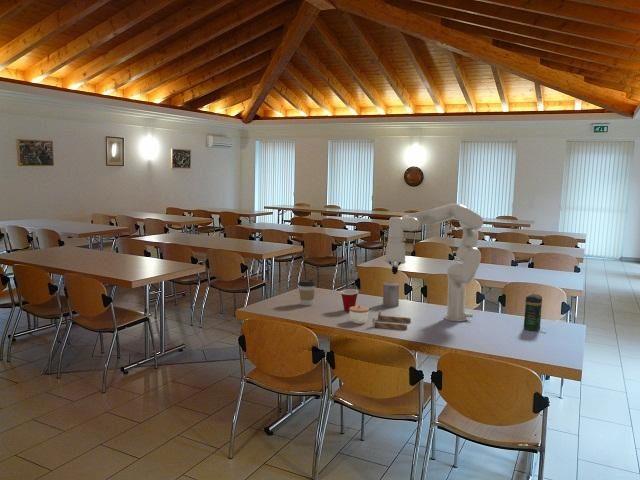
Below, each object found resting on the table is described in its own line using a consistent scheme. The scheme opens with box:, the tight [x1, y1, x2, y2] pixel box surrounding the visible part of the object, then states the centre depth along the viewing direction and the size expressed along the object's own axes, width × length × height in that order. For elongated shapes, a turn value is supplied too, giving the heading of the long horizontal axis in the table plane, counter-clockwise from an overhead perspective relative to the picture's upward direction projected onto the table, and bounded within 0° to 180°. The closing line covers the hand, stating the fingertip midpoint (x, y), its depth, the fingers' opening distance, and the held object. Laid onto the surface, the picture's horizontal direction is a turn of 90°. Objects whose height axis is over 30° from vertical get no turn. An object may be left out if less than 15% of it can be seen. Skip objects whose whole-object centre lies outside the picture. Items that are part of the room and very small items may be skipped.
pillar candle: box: [382, 281, 400, 308], centre depth 342 cm, size 10×10×15 cm
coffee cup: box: [297, 278, 317, 306], centre depth 341 cm, size 11×11×15 cm
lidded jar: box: [349, 304, 370, 325], centre depth 303 cm, size 11×11×9 cm
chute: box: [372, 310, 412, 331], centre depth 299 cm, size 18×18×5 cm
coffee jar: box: [523, 293, 543, 332], centre depth 294 cm, size 10×8×19 cm
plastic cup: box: [339, 288, 359, 313], centre depth 327 cm, size 11×11×12 cm
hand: (394, 273), depth 300 cm, fingers closed
